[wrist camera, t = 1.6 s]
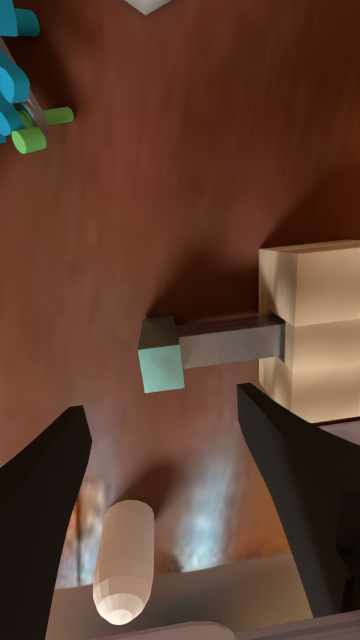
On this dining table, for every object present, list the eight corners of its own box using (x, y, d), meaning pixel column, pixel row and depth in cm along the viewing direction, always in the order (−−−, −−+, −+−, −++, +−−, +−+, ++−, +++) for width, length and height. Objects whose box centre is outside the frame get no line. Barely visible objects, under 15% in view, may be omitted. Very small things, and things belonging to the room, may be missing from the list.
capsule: (145, 537, 30) (141, 642, 22) (99, 530, 29) (78, 637, 21) (160, 504, 28) (162, 603, 21) (112, 495, 27) (95, 596, 20)
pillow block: (331, 371, 25) (383, 412, 19) (259, 381, 24) (290, 426, 19) (344, 239, 21) (415, 241, 15) (258, 248, 20) (298, 254, 15)
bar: (413, 318, 23) (496, 346, 17) (148, 352, 22) (145, 393, 16) (419, 285, 22) (510, 303, 17) (143, 319, 21) (138, 349, 15)
